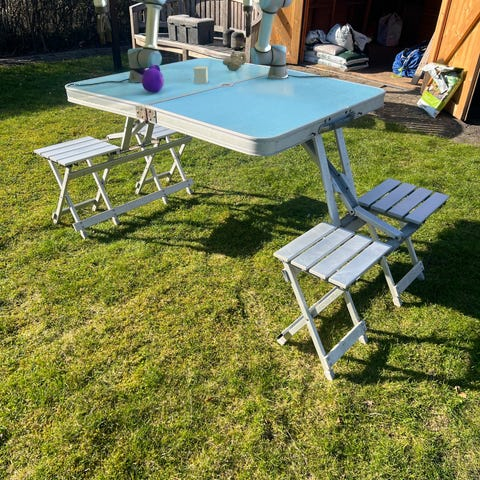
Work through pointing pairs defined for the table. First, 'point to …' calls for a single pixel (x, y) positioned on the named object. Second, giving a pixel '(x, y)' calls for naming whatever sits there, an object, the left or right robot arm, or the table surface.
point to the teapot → (234, 61)
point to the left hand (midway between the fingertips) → (106, 42)
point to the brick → (201, 75)
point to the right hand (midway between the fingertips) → (248, 36)
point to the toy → (152, 79)
